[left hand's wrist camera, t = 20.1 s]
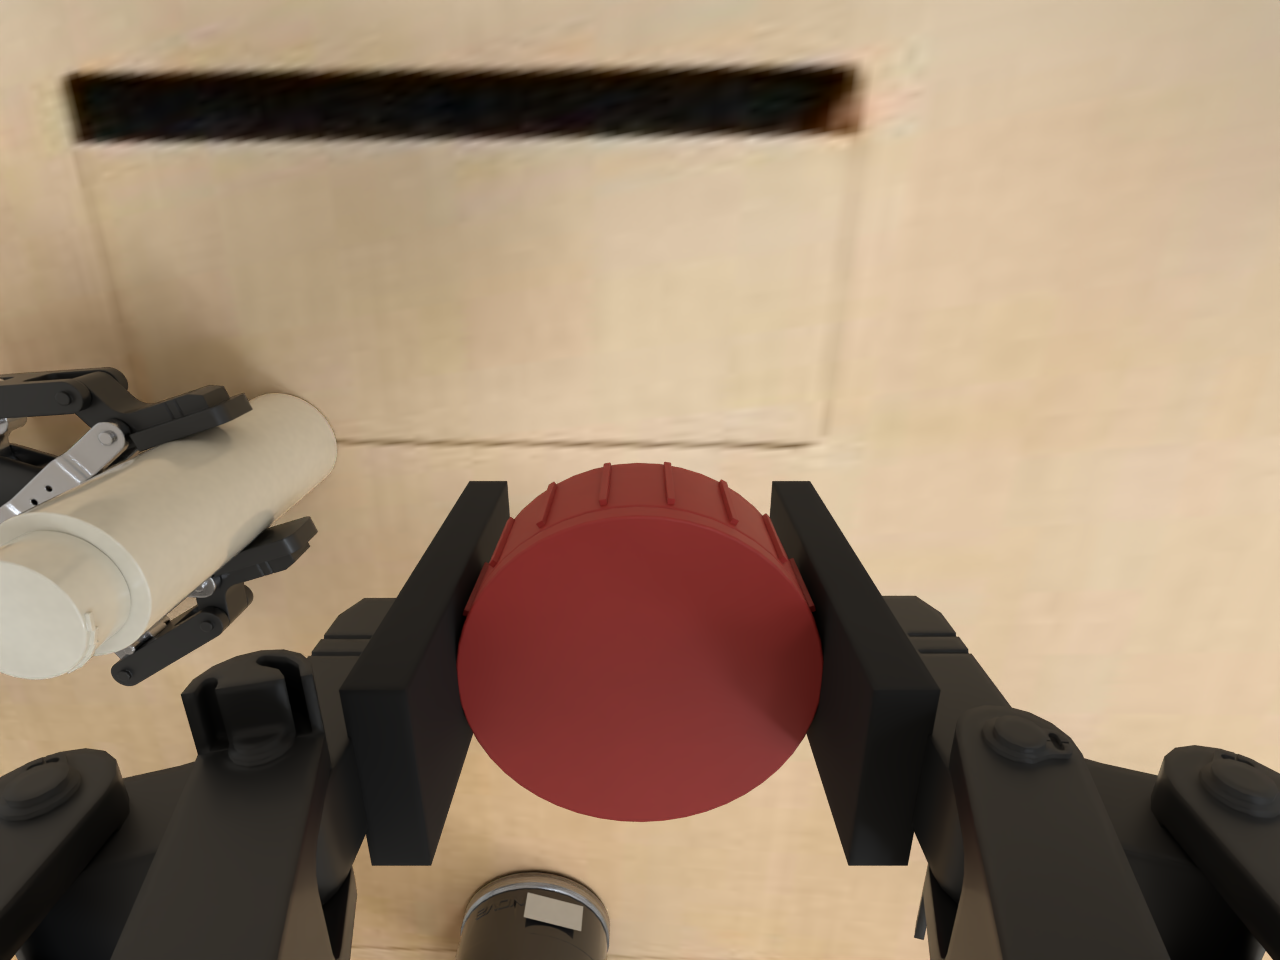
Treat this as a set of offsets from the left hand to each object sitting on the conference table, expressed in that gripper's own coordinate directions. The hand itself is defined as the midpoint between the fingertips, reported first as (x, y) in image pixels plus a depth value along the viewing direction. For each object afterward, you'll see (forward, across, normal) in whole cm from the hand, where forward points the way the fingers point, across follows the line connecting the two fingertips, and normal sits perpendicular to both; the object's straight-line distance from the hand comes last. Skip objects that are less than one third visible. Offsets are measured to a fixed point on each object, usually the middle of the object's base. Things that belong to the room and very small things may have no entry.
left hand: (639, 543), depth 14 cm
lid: (-4, 0, 0) cm, 4 cm away
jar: (+19, +17, +4) cm, 26 cm away
